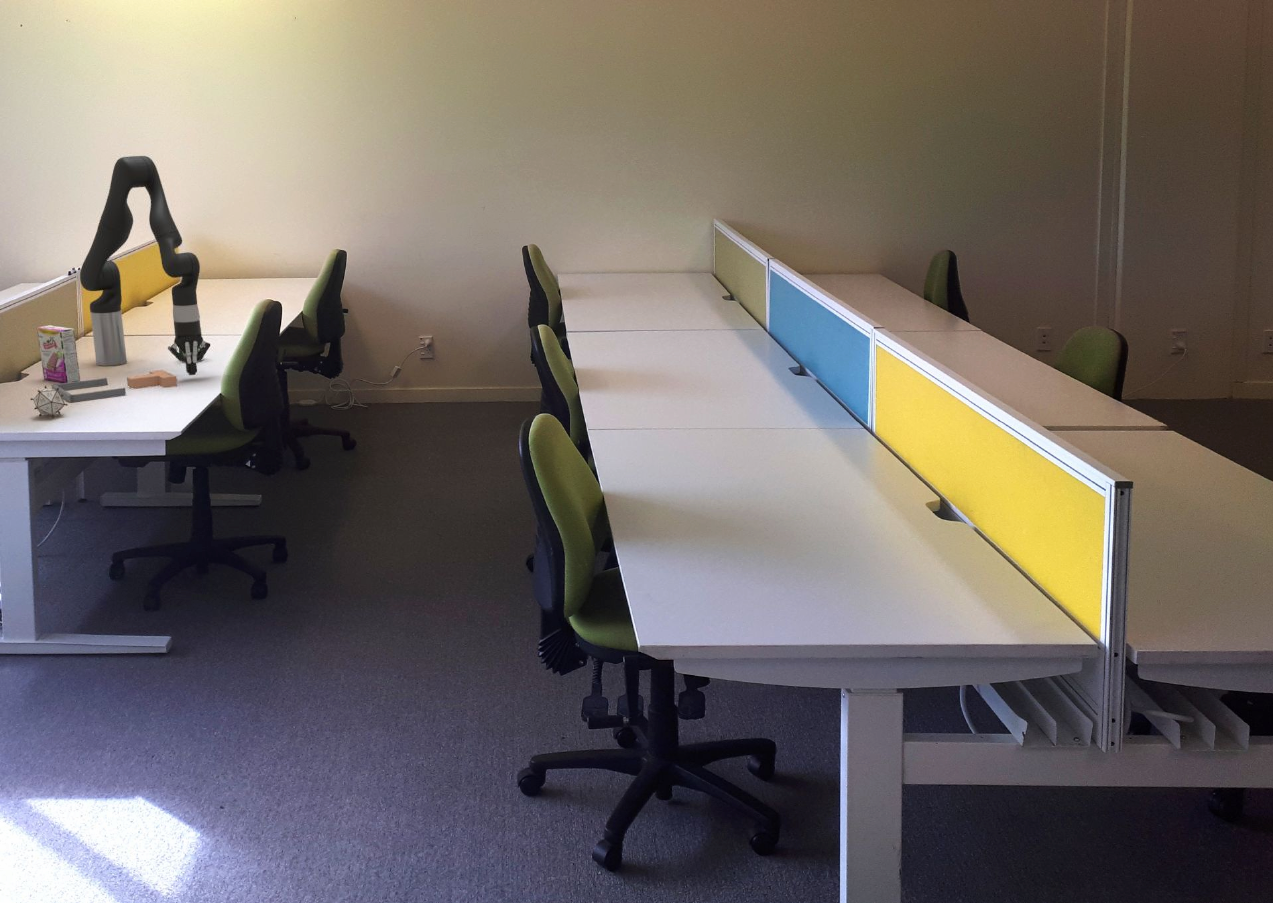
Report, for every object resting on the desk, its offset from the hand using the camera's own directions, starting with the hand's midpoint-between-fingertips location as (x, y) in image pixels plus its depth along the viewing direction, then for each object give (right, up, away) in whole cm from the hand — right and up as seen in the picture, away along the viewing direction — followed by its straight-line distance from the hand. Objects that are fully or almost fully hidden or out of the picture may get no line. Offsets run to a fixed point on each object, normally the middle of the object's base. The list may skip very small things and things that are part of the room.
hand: (191, 374), depth 376 cm
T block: (-10, -4, -7) cm, 13 cm away
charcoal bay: (-23, -7, -18) cm, 30 cm away
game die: (-22, -14, -45) cm, 52 cm away
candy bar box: (-39, -2, -2) cm, 39 cm away
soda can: (-10, +6, +27) cm, 30 cm away
